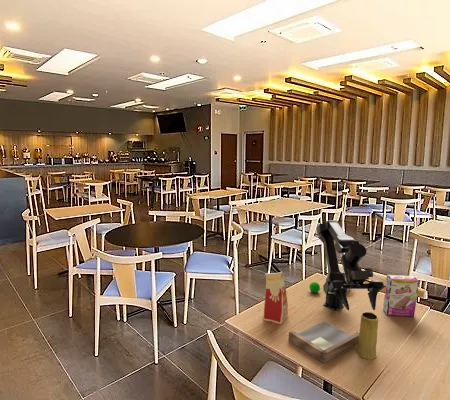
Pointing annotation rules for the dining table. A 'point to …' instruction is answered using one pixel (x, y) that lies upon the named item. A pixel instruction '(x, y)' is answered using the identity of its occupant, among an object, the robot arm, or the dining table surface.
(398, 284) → the candy bar box
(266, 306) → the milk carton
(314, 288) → the green pom pom ball
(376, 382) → the dining table surface
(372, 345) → the vase
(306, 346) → the arena
